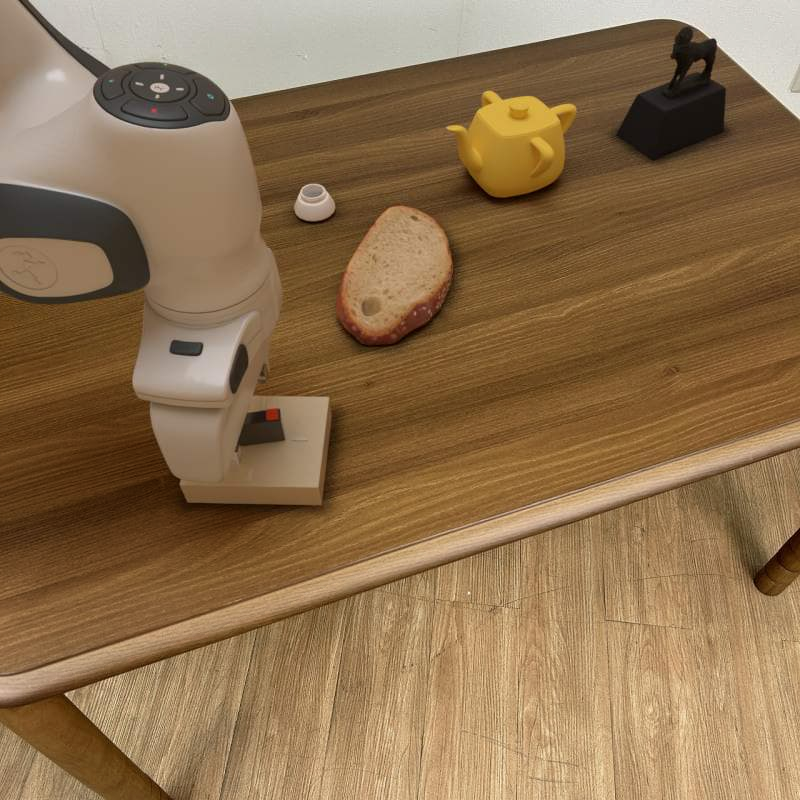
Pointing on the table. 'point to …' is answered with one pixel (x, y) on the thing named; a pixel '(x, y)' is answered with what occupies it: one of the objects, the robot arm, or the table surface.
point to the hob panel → (277, 459)
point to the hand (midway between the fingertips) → (245, 418)
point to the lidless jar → (314, 203)
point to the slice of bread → (395, 277)
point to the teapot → (514, 144)
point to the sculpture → (678, 104)
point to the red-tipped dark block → (262, 428)
